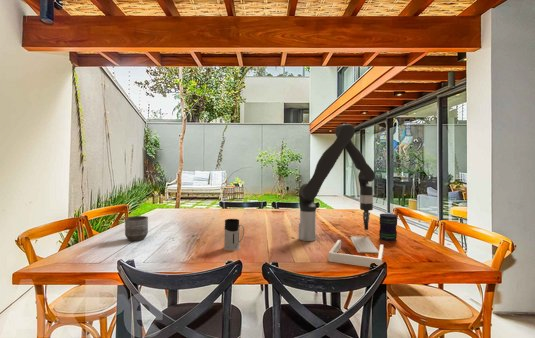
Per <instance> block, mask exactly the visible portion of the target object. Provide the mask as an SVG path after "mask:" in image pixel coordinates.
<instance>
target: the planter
mask: <svg viewBox="0 0 535 338" xmlns="http://www.w3.org/2000/svg"><path fill="white" fill-rule="evenodd" d="M124 221H125V222H124V236H125V237H126V238H127V240H128V241H129V242H141V241H144V240H145V239H146V237H147V235H148V232H149V216H146V215H136V216H135V215H134V216H128V217H126V218H124Z"/></svg>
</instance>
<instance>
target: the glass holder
mask: <svg viewBox="0 0 535 338" xmlns="http://www.w3.org/2000/svg"><path fill="white" fill-rule="evenodd" d="M240 227H242V236H241V238H240ZM244 235H245V227H244V225H243V224H240V219H239V218H227V219H225V220H224V241H223V242H224V245H223V250H224V251H228V252H229V251H230V252H233V251H238V250H240V249H241V246H240V243H241V242H242V241H243V238H244Z"/></svg>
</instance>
